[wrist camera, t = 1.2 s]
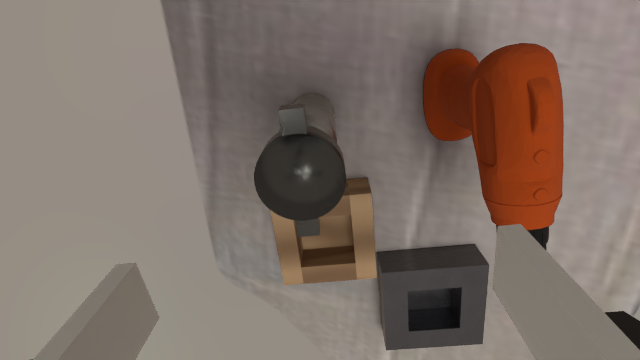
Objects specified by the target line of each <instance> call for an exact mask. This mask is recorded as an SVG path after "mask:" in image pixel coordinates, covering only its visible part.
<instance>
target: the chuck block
mask: <svg viewBox="0 0 640 360" xmlns="http://www.w3.org/2000/svg"><path fill="white" fill-rule="evenodd" d="M377 258H378V275H379V291H380V307H381V324H382V330H383V335H384V341H385V346H386V350H397V349H412V348H428V347H443V346H458V345H474V344H483V332H484V320H485V308H486V296H487V284H488V272H489V264H488V262H487V261H486V260H485V258H484V257H483V255H482V254H481V252H480V251H479V249H478V248H477V247H476V245H475V244H470V245H458V246H446V247H434V248H421V249H409V250H397V251H385V252H377Z"/></svg>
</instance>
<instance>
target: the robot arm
mask: <svg viewBox="0 0 640 360" xmlns="http://www.w3.org/2000/svg"><path fill="white" fill-rule="evenodd" d="M493 290H494V292H495V293H496V295H497V297H498V298H499V300H500V301H501V303H502V305H503V306H504V308H505V310H506V311H507V313H508V315H509V316H510V318H511V319H512V321H513V323H514V324H515V326H516V328H517V329H518V331H519V333H520V334H521V336H522V338H523V339H524V341H525V342H526V344H527V346H528V347H529V349H530V351H531V352H532V354H533V356H534V357H535V359H536V360H640V321H639V320H637V319H635V318H634V317H632V316H631V315H629V314H627V313H626V312H624V311H619V312H606V313H604V312H603V311H602V310H601V309H600V308H599V306H598V305H597V304H596V303H595V302H594V301H593V300H592V299H591V298H590V297H589V296H588V295H587V294H586V293H585V292H584V291H583V289H582V288H581V287H580V286H579V285H578V284H577V283H576V282H575V281H574V280H573V279H572V278H571V277H570V276H569V275H568V274H567V272H566V271H565V270H564V269H563V268H562V267H561V266H560V265H559V264H558V263H557V262H556V261H555V260H554V259H553V258H552V257H551V255H550V254H549V253H548V252H547V251H546V250H545V249H544V248H543V247H542V246H541V245H540V244H539V243H538V242H537V241H536V240H535V238H534V237H533V236H532V235H531V234H530V233H529V232H528V231H527V230H526V229H525V228H524V227H523V226H522V225H521V224H515V225H505V226H498V229H497V241H496V254H495V266H494V279H493ZM158 319H159V316H158V313H157V311H156V309H155V306H154V304H153V302H152V299H151V297H150V295H149V293H148V290H147V288H146V286H145V283H144V281H143V279H142V276H141V274H140V271H139V269H138V267H137V265H136V263H127V264H117V265H115V267H114V268H113V269H112V270H111V271H110V272H109V273H108V275H107V276H106V277H105V278H104V279H103V280H102V281H101V283H100V284H99V285H98V286H97V287H96V288H95V289H94V291H93V292H92V293H91V294H90V295H89V296H88V298H87V299H86V300H85V301H84V302H83V303H82V304H81V306H80V307H79V308H78V309H77V310H76V311H75V312H74V313H73V315H72V316H71V317H70V318H69V319H68V320H67V322H66V323H65V324H64V325H63V326H62V327H61V329H60V330H59V331H58V332H57V333H56V334H55V335H54V337H53V338H52V339H51V340H50V341H49V342H48V343H47V344H46V346H45V347H44V348H43V349H42V350H41V352H39V354H38V355H37V356H36V357H35V358H34V359H32V360H135V359H136V358H137V356H138V354H139V352H140V351H141V349H142V347H143V345H144V344H145V342H146V340H147V338H148V337H149V335H150V333H151V331H152V330H153V328H154V326H155V324H156V323H157V321H158Z"/></svg>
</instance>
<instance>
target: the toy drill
mask: <svg viewBox="0 0 640 360" xmlns="http://www.w3.org/2000/svg"><path fill="white" fill-rule="evenodd" d="M423 104H424V113H425V118H426V122H427V125H428V129H429V130H430V132H431V133H432V134H433V135H434V136H435V137H436V138H438V139H439V140H443V141H456V140H460V139H464V138H466V137H469V136H470V135H472V137H473V142H474V147H475V152H476V156H477V161H478V167H479V173H480V180H481V187H482V193H483V197H484V200H485V202H486V205H487V207H488V210H489V212H490V214H491V220H492V222H493V223H495V224H496V228H497V229H498V226H505V225H515V224H521V225H522V226H523V227H524V228H525V229H526V230H527V231H528V232H529V233H530V234H531V235H532V236H533V237H534V238H535V240H536V241H537V242H538V243H539V244H540V245H541V246H542V247H543V248H544V249H545V250H546V243H547V242H548V238H549V226H550V225H552V224H553V223H554V213H555V211H556V209H557V207H558V204H559V202H560V199H561V197H562V176H563V125H564V124H563V100H562V89H561V83H560V78H559V73H558V68H557V63H556V60H555V58H554V56H553V54H552V53H551V52H550V51H549V50H548V49H546V48H545V47H542V46H540V45H537V44H528V43H519V44H514V45H509V46H505V47H502V48H500V49H497V50H495V51H493V52H492V53H490V54H489V55H488V56H486V57H485V58H484V59H483V60H482V61H481V62H480V63H479V62H478V60H477V58H476V57H475V56H474V55H473V54H472V53H470V52H469V51H467V50H463V49H449V50H445V51H442V52H440V53H439V54H437V55H436V56H435V57H434V58H433V59H432V60H431V61H430V63H429V65H428V67H427V70H426V73H425V78H424V86H423Z"/></svg>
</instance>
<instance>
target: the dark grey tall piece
mask: <svg viewBox="0 0 640 360" xmlns="http://www.w3.org/2000/svg"><path fill="white" fill-rule="evenodd" d="M278 113H279V119H280V125H281V129H280V131H279V132H278V133H277V134H276V135H274V136H273V137H272V138H271V139H270V140H269V142H268V143H267V145H266V146H265V148H264V150H263V152H262V154H261V155H260V157H259V159H258V161H257V164H256V167H255V172H254V182H255V187H256V191H257V193H258V195H259V197H260V199H261V200H262V202H263V203H264V204H265V205H266V206H267V207H268V208H269V209H270V210H271V211H273V212H274V213H276V214H277V215H279V216H281V217H284V218H287V219H290V220H296V226H297V232H298V237H305V236H317V235H320V217H321V216H323V215H325V214H327V213H328V212H330V211H331V210H332V209H333V208H334V207H335V206H336V205H337V204H338V203H339V201H340V199H341V198H342V196H343V193H344V190H345V185H346V173H345V165H344V158H343V155H342V152H341V150H340V147H339V146H338V144H337V136H336V124H335V112H334V108H333V106H332V104H331V102H330V101H329V100H328V99H327V98H326V97H324V96H323V95H320V94H317V93H307V94H304V95H302V96H300V97H298V98H297V99H296V100H295V101H294V103H293V105H285V106H281V107H280V109H279V110H278Z"/></svg>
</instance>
